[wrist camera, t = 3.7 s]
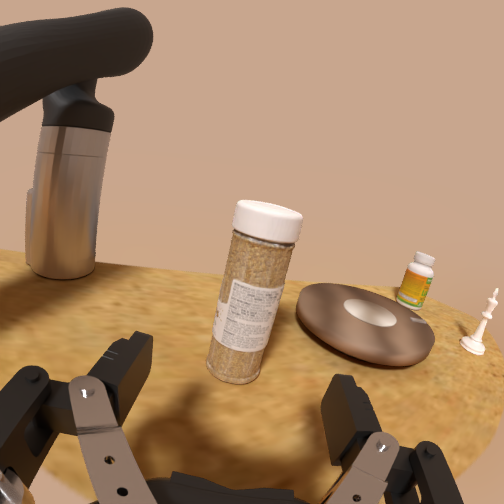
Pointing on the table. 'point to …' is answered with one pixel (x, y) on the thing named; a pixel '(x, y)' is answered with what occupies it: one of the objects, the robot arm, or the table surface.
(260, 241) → the sprinkles bottle
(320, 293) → the turntable platter
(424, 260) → the supplement bottle
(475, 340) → the chess piece
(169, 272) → the table surface
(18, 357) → the table surface
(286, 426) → the table surface
